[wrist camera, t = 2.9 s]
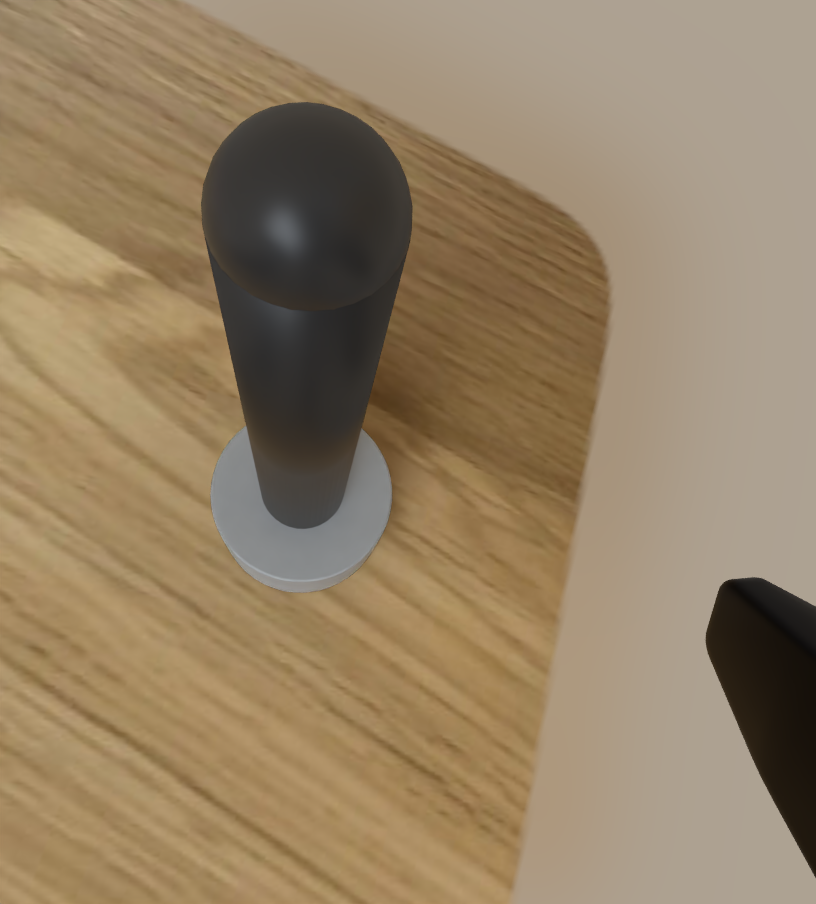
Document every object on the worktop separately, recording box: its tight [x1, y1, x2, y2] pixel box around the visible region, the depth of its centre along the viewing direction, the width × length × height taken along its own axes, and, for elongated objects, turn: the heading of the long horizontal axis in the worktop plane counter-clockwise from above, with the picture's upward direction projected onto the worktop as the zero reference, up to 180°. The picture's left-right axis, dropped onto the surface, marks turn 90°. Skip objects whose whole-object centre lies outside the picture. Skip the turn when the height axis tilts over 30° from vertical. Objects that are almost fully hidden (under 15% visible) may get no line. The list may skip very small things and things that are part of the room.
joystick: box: [201, 102, 412, 592], centre depth 12 cm, size 4×4×14 cm
